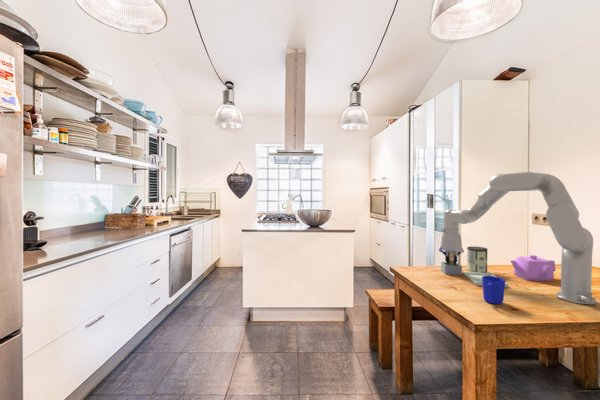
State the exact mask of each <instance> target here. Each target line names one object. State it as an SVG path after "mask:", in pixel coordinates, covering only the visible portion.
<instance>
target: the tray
mask: <svg viewBox="0 0 600 400" xmlns="http://www.w3.org/2000/svg"><path fill="white" fill-rule="evenodd" d="M462 275H464V276H465V277H466V278H467V279H469V280H470V281H471V282H473V284H474V285H475V286H477V287H483V284H482V277H483V276H494V277H497V276H496V275H495V274H493V273H491V272H487V273H480V272H471V271H462ZM505 288H506V289H508V288H509V283H507V282H506V281H505Z"/></svg>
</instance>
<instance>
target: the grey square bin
mask: <svg viewBox="0 0 600 400" xmlns="http://www.w3.org/2000/svg"><path fill="white" fill-rule="evenodd" d="M440 262H441V263H440V270H441V272H442V273H444V275H450V276H451V275H452V276H463V266H462V265H461V264H459V263H458V262H456V264H455V263H454V266H451V265H448V263H447V262H446V261H440Z"/></svg>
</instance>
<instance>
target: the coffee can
mask: <svg viewBox="0 0 600 400" xmlns="http://www.w3.org/2000/svg"><path fill="white" fill-rule="evenodd" d="M466 249H467V250H466V251H467V252H466V254H467V256H466V257H467V258H466V259H467V260H466V261H467V265H466V266H467V272H480V273H488V251H489V250H488V247H484V246H483V247H482V246H467V247H466Z"/></svg>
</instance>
